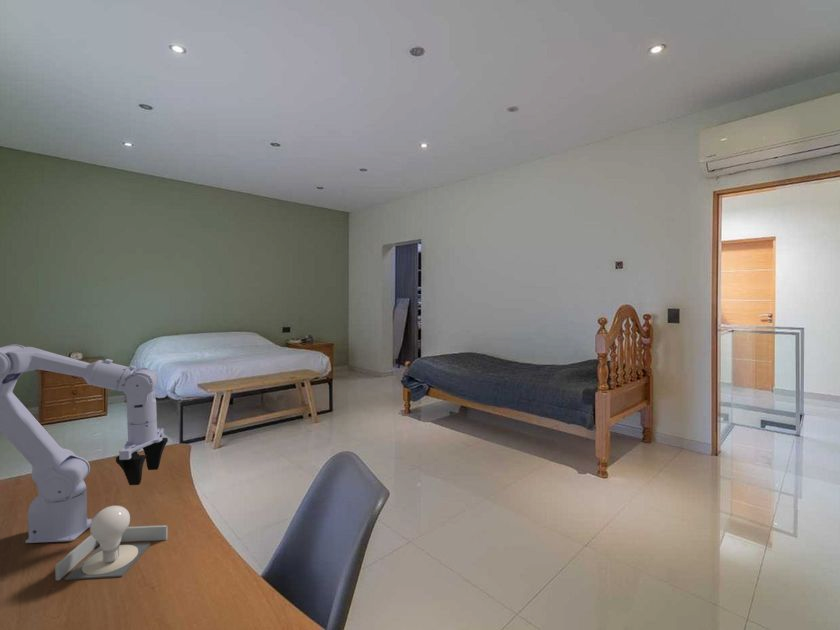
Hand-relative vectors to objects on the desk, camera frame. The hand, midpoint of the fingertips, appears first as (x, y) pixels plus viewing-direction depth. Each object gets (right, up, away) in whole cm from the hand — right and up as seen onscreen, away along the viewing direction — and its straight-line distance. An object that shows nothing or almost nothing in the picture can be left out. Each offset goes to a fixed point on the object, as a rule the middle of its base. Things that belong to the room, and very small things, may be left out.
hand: (144, 476), depth 95 cm
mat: (+3, -11, -14) cm, 18 cm away
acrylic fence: (+3, -11, -13) cm, 18 cm away
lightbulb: (+4, -11, -15) cm, 19 cm away
